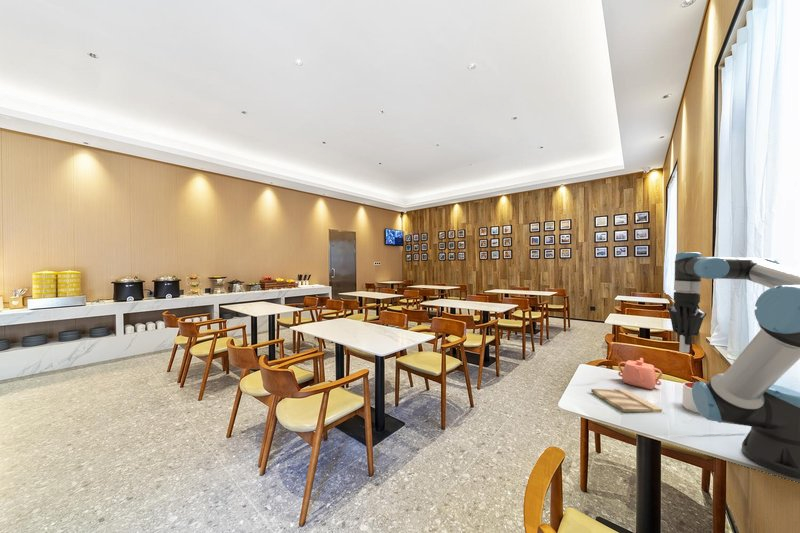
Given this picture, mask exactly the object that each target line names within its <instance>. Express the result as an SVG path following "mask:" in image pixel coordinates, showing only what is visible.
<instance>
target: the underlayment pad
mask: <svg viewBox="0 0 800 533" xmlns="http://www.w3.org/2000/svg"><path fill="white" fill-rule="evenodd" d="M617 390H618V391H619V392H621V393H623V394H625V395H627V396H629V397H630V398H632V399H634V400H636V401H638V402H639V403H641V404H643V405H645V406H647V407H648V408H650V409H652V410H651V412H623V411H621V410H620V409H618V408H617V407H615V406H613V405H612V404H610V403H609V402H607V401H605V400H604V399H602V398H601V397H599V396H597V395H596V394H594V393H593V392H591V391H585V392H586V393H585V394H588V395H589V396H591V397H593V398H594V399H595V400H597V401H599V402H600V403H601V404H603V405H605V406H606V407H608V408H609V409H612V411H614V412H616V413H617V414H618V415H623V416H624V415H626V416H627V415H658V414H659V415H660V414H666V412H663V409H662V408H660V407H658V406H657V405H655V404H653V403H651V402H650V401H648V400H647V399H644V398H642V397H640V396H638V395H636V394H635V393H632V392H630V391H628V390H627V389H617Z"/></svg>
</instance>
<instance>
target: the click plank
mask: <svg viewBox="0 0 800 533" xmlns="http://www.w3.org/2000/svg"><path fill="white" fill-rule="evenodd" d="M590 390H591V391H590V392H593V393H594V394H596V395H597V396H599V397H601V398H602V399H604V400H605V401H607V402H609V403H610V404H612V405H613V406H615V407H617V408H618V409H620V410H621V411H623V412H651V410H652V409H650V408H648V407H647V406H645V405H643V404H641V403H639V402H638V401H636V400H634V399H632V398H630V397H629V396H627V395H625V394H623V393H621V392H619V391H618V390H619V389H615V388H614V389H612V388H611V389H608V388H607V389H606V388H604V389H603V388H602V389H601V388H591V389H590Z"/></svg>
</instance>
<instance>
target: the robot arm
mask: <svg viewBox="0 0 800 533" xmlns="http://www.w3.org/2000/svg"><path fill="white" fill-rule="evenodd" d="M702 279H705V280H717V279H718V280H719V279H721V280H722V279H724V280H725V279H727V280H747V281H750V282H753V283H756V284H759V285H762V286H763V287H767V288H768V289H766V290H765V291H763V292H762V293H761V294H760V295H759V296H758V298H757V299H756V301H755V305H754V306H755V307H756V309H754V317H755V320H756V321H757V324H758V326H759V328H760V330H759V331H758V333H757V334H755V335H754V337H753V338H752V339H751V341H750V342H749V343H748V344H747V346H745V348H744V349H743V350H742V352H740V354H739V355H738V356H737V358H735V359H734V361H733V362H732V364H731V365H730V366H729V367H728V369H727V370H726V371H725V372H724V373H717V374H714V375H713V376H712V377H711V378H710V379H709V381H707V382H704V381H702V380H701V381H695V382H693V383H694V384H693V387H692V396H693V401H694V404H695V406H696V408H697V410H698V411H699V413H698V414H699V415H701V416H702V417H703V418H705V419H706V420H707V421H711V422H717V423H720V424H721V423H724V424H729V425H730V424H731V425H738V426H747V427H750V430H749V432H748V434H747V435H746V436H745V438H744V439H743V441H742V442H741V452H742V454H743V455H745V456H746V457H747V458H748V459H750V460H751V461H753V462H755V463H756V464H758V465H760V466H762V467H764V468H767V469H769V470H772V471H775V472H777V473H780V474H783V475H785V474H786V476H790V477H793V478H798V479H800V392H799V391H796V390H794V389H791V388H788V387H784V386H781V385H777V384H776V382H777V381H778V380H779V379H780V378H782V376H783V375H785V373H787V372H788V371H789V370H790V369H791V368H792V367H793V366H794V365H795V364H796V363H797V362H798V361H799V360H800V269H797V268H796V269H795V268H792V267H788V266H784V265H781V264H780V263H779V262H778V261H777V260H776V259H774V258H771V257H770V258H769V257H767V258H766V257H725V256H724V257H720V256H703V255H702V253H701V252H694V251H693V252H691V251H688V252H687V251H685V252H677V253H676V254H675V259H674V279H673V280H674V282H673V290H674V292H673V301H674V303H673V305H672V306H670V307H669V306H668V307H667V310H668V312H669V316H670V321H671V322H670V323H671V326H672V332H674V333H677V336H678V338H677V339H678V340H677V341H678V343H679V349H678V351H679V353H683V354H685V353H687V354H689V353H690V350H691V349H690V348H691V347H690V346H691V345H692V342H693V340H692V339H693V337H697V336H699V333H700V330H701V327H702V323H703V322H704V321H703V320H704V319H705V317H706V316H707V312H705V311H702V310H701V309H700V305H699V304H700V303H701V294H700V292H701V287H702V285H701V284H702V283H701V282H702Z"/></svg>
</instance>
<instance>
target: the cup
mask: <svg viewBox="0 0 800 533" xmlns="http://www.w3.org/2000/svg"><path fill="white" fill-rule="evenodd" d="M694 383H695V382H691V381H690V382H683V383H682V399H681V400H682V401H681V402H682V407H683V408H686V409H687V410H689V411H692V412H695V413H698V414H700V413H699V411H698V410H697V408H696V406H695V404H694V401H693V396H692V387H693V384H694Z"/></svg>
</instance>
